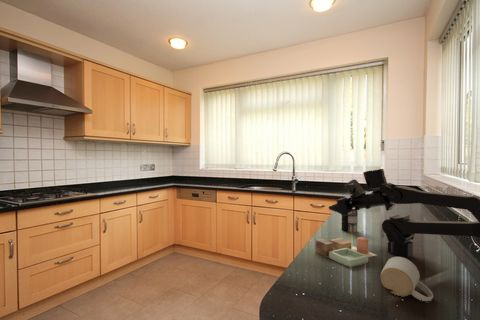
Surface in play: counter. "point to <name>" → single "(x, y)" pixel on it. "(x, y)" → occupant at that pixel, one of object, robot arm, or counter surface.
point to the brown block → (323, 247)
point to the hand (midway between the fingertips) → (334, 205)
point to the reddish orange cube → (362, 245)
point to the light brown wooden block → (340, 244)
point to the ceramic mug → (403, 279)
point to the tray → (348, 257)
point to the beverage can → (350, 222)
